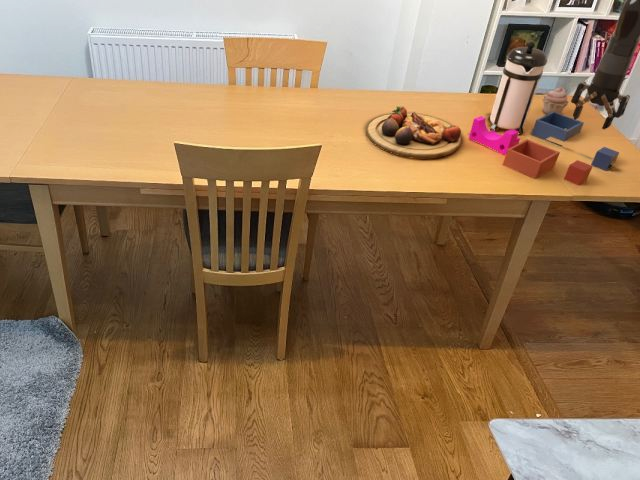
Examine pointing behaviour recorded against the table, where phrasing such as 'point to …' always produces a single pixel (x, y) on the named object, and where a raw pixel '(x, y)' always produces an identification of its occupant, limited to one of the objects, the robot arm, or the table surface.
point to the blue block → (605, 158)
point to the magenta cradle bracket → (493, 136)
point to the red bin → (530, 158)
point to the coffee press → (517, 87)
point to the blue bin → (556, 127)
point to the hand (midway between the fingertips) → (590, 123)
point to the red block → (578, 172)
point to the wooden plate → (414, 135)
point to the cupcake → (555, 101)
